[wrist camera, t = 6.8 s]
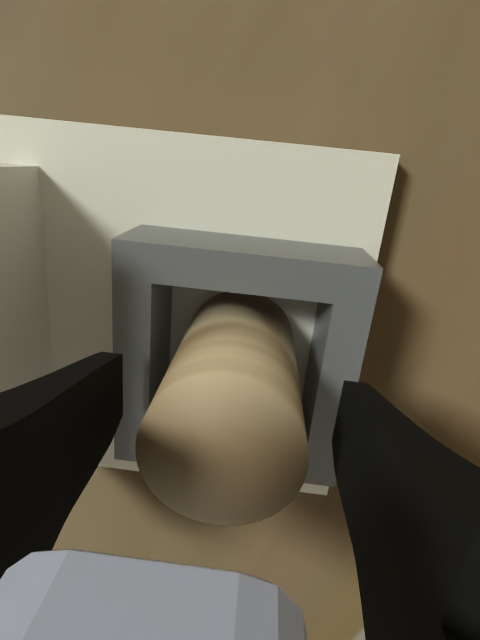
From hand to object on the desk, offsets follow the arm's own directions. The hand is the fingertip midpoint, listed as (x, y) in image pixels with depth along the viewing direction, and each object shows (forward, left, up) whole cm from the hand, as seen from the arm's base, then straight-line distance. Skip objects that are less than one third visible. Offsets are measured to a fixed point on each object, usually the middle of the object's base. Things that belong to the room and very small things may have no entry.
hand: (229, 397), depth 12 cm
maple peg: (0, 0, -4) cm, 4 cm away
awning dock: (0, +2, -5) cm, 6 cm away
